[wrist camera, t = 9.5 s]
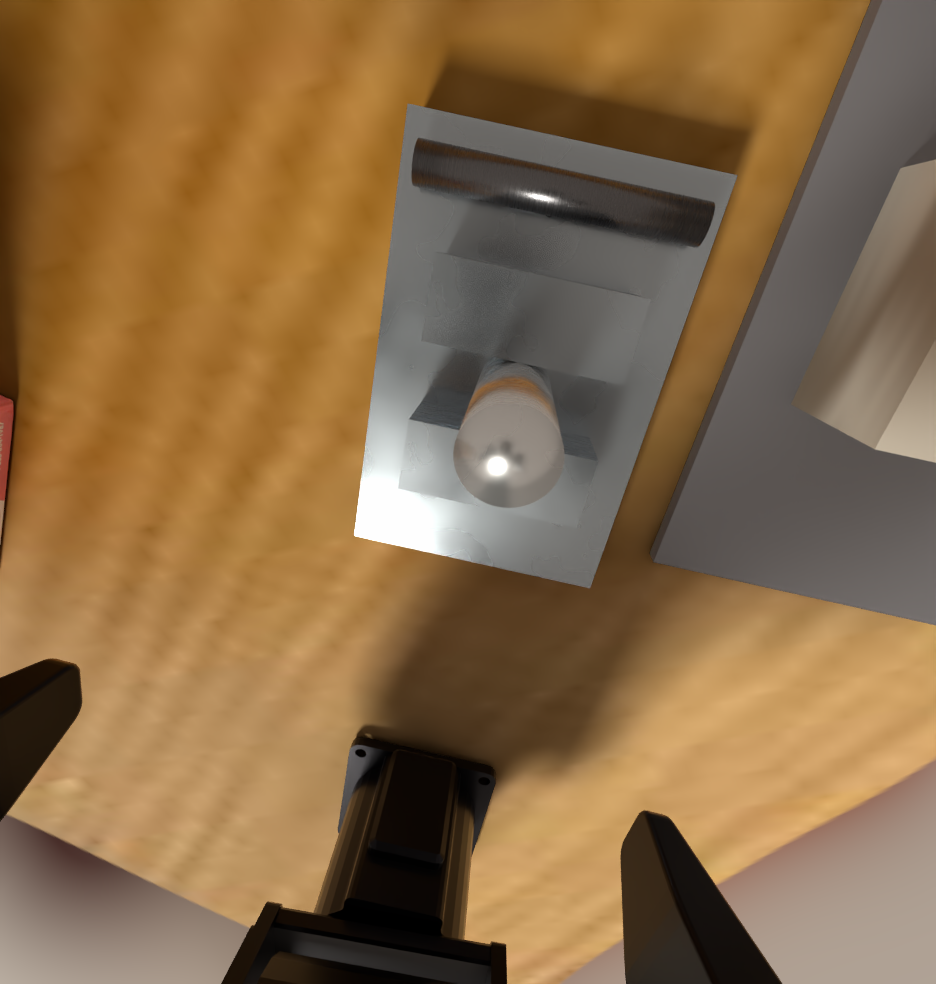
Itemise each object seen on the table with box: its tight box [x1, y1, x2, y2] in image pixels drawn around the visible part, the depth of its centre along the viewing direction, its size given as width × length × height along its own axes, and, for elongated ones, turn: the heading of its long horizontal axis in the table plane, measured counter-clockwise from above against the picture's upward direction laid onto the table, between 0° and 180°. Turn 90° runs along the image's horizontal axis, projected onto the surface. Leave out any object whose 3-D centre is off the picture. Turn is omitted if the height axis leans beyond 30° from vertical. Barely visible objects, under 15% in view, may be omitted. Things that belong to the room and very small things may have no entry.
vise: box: [354, 104, 738, 588], centre depth 13 cm, size 12×8×8 cm, turn 169°
